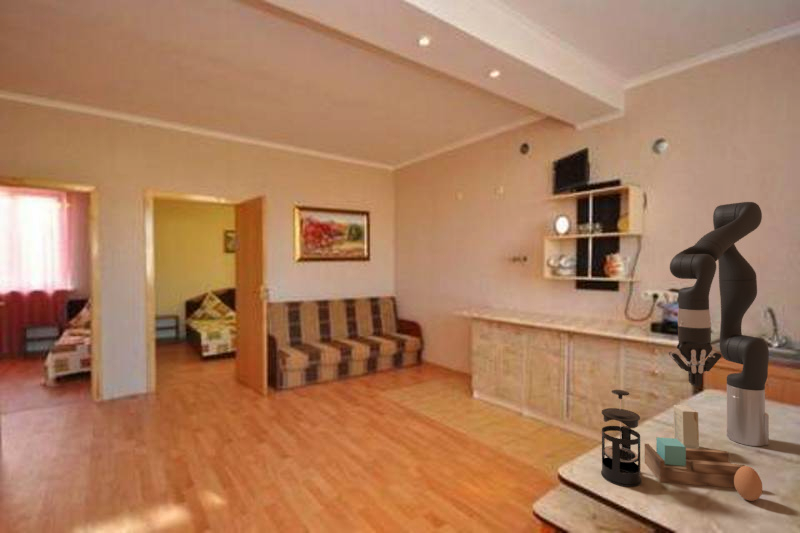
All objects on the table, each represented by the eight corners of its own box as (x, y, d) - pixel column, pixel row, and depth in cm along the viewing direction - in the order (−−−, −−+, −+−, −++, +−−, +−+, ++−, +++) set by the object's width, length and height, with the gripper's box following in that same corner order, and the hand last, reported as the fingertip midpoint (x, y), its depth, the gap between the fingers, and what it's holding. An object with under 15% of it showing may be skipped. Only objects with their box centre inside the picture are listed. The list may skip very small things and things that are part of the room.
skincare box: (699, 453, 120) (699, 412, 119) (683, 452, 120) (683, 411, 120) (688, 443, 126) (688, 404, 126) (673, 442, 127) (673, 404, 127)
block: (676, 456, 111) (676, 438, 110) (685, 465, 106) (685, 446, 106) (656, 455, 112) (656, 437, 111) (664, 464, 107) (664, 445, 107)
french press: (635, 492, 100) (635, 400, 100) (595, 479, 106) (594, 392, 106) (646, 474, 108) (646, 388, 108) (608, 462, 115) (608, 382, 115)
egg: (728, 494, 99) (728, 461, 99) (747, 492, 99) (747, 460, 99) (748, 506, 94) (748, 472, 94) (768, 505, 94) (768, 471, 94)
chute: (724, 468, 111) (724, 449, 111) (748, 489, 101) (748, 467, 101) (644, 462, 114) (644, 443, 114) (660, 481, 105) (660, 460, 105)
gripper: (711, 322, 116) (713, 381, 117) (662, 322, 119) (663, 381, 119) (728, 326, 109) (730, 390, 109) (675, 327, 111) (676, 389, 111)
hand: (695, 385), depth 114 cm, fingers closed
